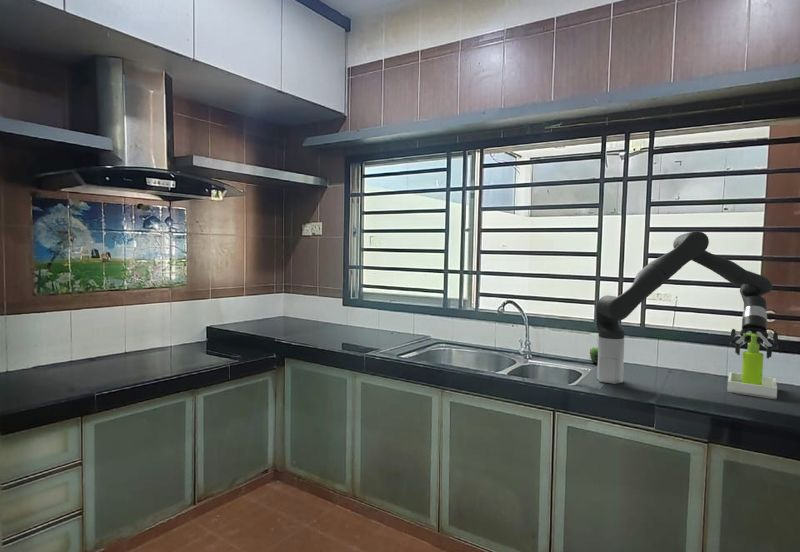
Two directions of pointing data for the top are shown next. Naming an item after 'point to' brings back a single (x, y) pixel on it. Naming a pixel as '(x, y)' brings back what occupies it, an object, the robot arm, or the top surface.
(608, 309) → the robot arm
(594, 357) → the vegetable
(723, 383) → the top surface
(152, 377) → the top surface
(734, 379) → the tray
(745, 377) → the soap dispenser
